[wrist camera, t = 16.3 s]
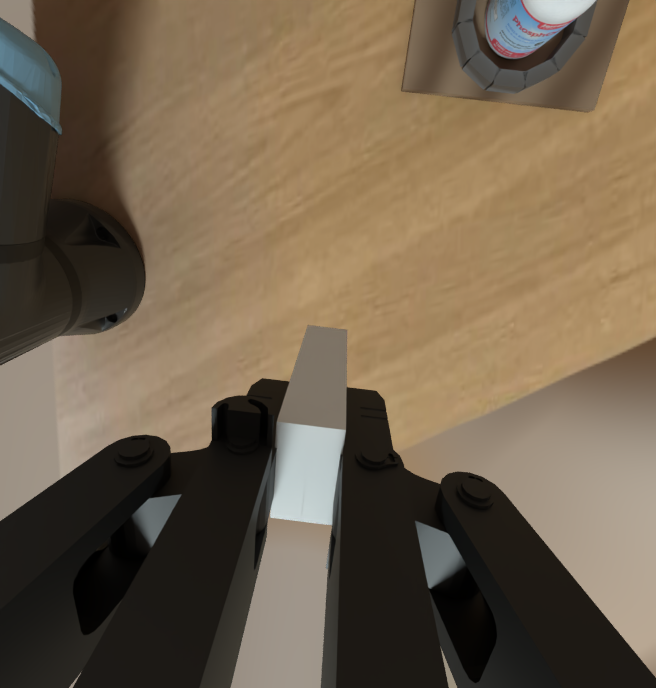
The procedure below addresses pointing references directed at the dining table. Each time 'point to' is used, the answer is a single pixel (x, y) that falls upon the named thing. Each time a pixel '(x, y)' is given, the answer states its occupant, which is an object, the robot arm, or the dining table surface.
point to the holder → (509, 74)
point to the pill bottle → (528, 23)
